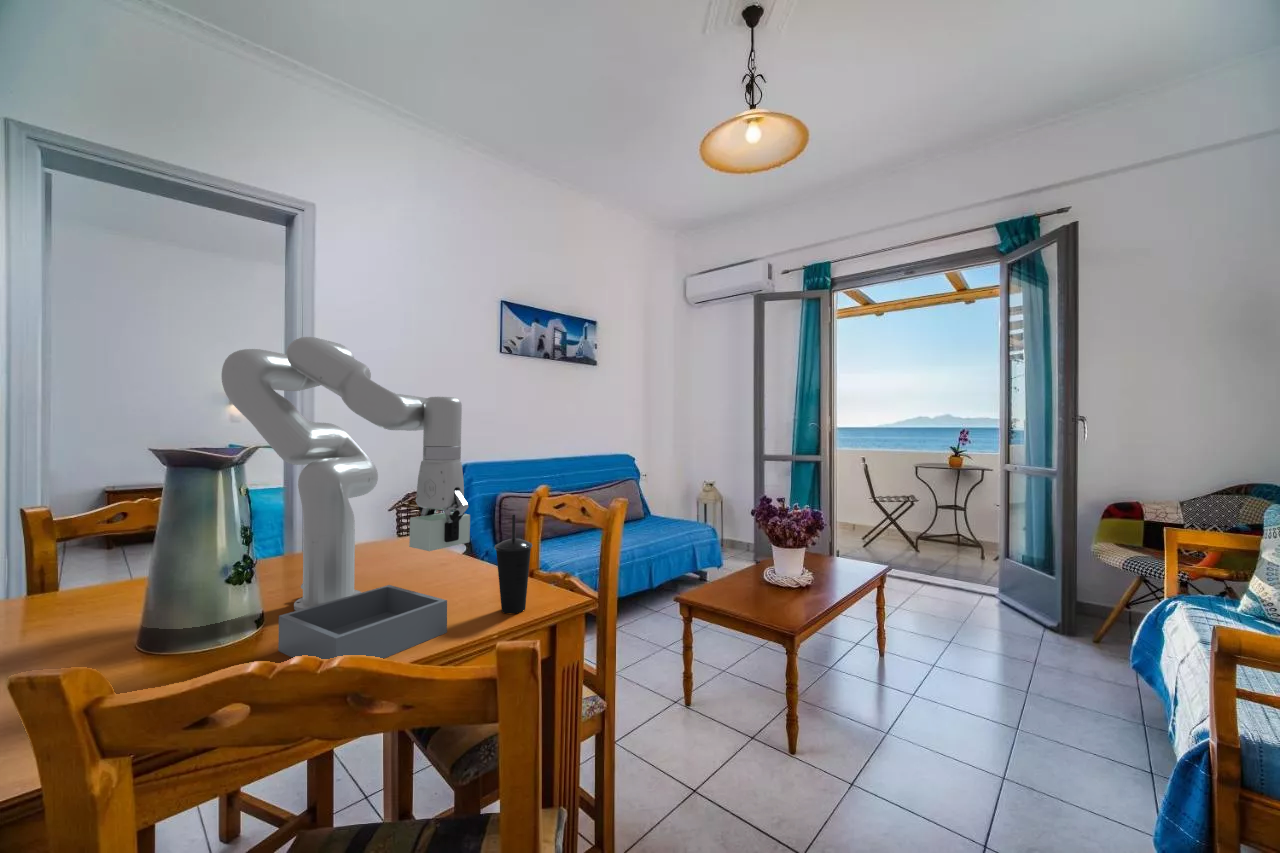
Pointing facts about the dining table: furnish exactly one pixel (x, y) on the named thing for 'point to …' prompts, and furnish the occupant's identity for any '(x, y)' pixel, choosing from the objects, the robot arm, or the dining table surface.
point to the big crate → (363, 624)
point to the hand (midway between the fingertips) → (440, 538)
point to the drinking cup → (513, 572)
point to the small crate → (436, 532)
